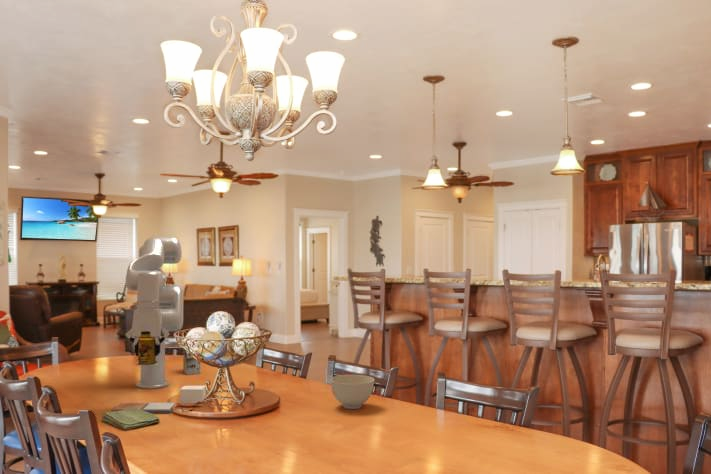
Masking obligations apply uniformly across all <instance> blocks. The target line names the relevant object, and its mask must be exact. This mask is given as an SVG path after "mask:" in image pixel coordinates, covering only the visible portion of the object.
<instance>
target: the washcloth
mask: <svg viewBox="0 0 711 474" xmlns="http://www.w3.org/2000/svg"><path fill="white" fill-rule="evenodd" d="M101 420H102V421H103V422H105V423H107V424H109V425H112V426H114V427H117V428H119V429H122V430H124V431H129V430H134V429H138V428H141V427H145V426H148V425H149V426H150V425H153V424H157V423H160V417H159V416H157V415H156V413H149V412H145V411H143V410H142V409H138V408H132V409H125V410H122V411H112V412H111V411H107V412H104V413H103V414H102V418H101Z"/></svg>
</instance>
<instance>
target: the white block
mask: <svg viewBox="0 0 711 474" xmlns="http://www.w3.org/2000/svg"><path fill="white" fill-rule="evenodd" d="M205 396H206V397H207V385H183V386H182V387H181V388H180V389H179V401H180V402H179V404H180V403H197V402H199V401H202V400H203V399H204V398H205Z"/></svg>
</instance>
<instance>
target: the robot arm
mask: <svg viewBox="0 0 711 474" xmlns="http://www.w3.org/2000/svg"><path fill="white" fill-rule="evenodd" d="M181 259H182V246H181V242H180V240H179V239H178V238H176V237H174V236H173V237H172V236H151V237H149V238H147V239H146V240H145V241H144V242H143V245H141V246H140V247H139V250H138V257H137V258H136V259H134V260H133V261H131V262H130V263H129V265H128V266H127V271H126V275H125V286H126V289H128V290H129V291H132V292H133V291H135V292H136V291H137V296H136V297H137V299H136V302H133V303H132V305H133V307H136V309H134V311H133V317H132V326H131V328H130V329H129V330H128V331H127V332H126V333H125V337H127V338H128V339H129V341H131V343H132V344H133V346H134V350H133V351H134V354H135V357H138V339H139V338H140V336H141V332H143V331H149V332H150V336H151V337H152V338H153V337H154V338H155V341H156V345H155V356H156V360H157V361H158V364H153V365H140V374H139V375H140V379H139V380H140V381H138V382H136V385H135V386H136V387H137V388H139V389H147V390H148V389H151V390H152V389H158V388H159V389H160V388H165V387H167V386H169V381H168V380H166V379H165V378H166V376H165V375H166V373H165V371H166V370H165V367H166V360H165V359H166V342H165V340H166V339H167V338H168V337H169V336H170V332H179V331H180V330H181V329H182V328H183V325H184V303H185V302H184V291H183V287H182V286H180V285H179V284H177V285H176V284H167V277H166V276H167V275H166V274H165V272H164V271H163V270H162V269H161V268H162V266H163V265H164V264H166V265H168V264H169V265H173V264H176V265H177V264H179V263H180V261H181ZM162 335H163V336H162Z"/></svg>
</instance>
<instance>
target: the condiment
mask: <svg viewBox="0 0 711 474" xmlns="http://www.w3.org/2000/svg"><path fill="white" fill-rule="evenodd" d="M155 345H156V341H155V338H154V337H153V338H152V337H151V336H150V332H149V331H143V332H141V336H140V338H139V339H138V356H137V361H136V366H141V365H153V364H158V361H157V360H156V356H155Z"/></svg>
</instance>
